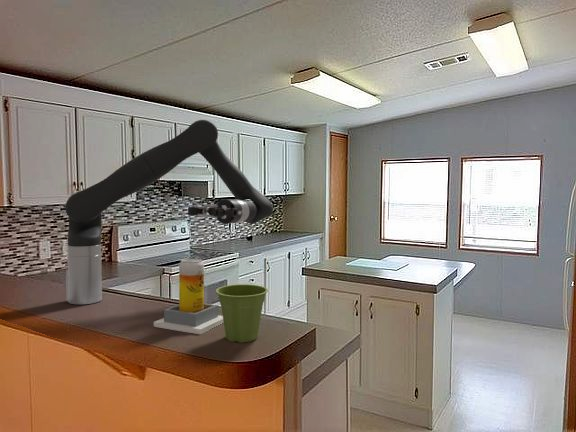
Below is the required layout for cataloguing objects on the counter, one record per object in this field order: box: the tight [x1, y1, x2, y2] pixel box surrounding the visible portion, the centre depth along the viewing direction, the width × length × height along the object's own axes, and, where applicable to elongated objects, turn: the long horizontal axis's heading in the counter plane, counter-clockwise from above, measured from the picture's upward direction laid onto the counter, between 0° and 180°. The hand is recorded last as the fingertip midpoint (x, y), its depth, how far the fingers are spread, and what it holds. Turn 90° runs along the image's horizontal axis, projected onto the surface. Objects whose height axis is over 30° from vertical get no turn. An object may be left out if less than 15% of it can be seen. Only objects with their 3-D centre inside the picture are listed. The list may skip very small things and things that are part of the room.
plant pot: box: [215, 283, 269, 343], centre depth 101 cm, size 12×12×11 cm
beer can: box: [178, 258, 205, 313], centre depth 111 cm, size 6×6×15 cm
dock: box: [153, 302, 224, 335], centre depth 111 cm, size 14×12×4 cm
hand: (201, 212), depth 122 cm, fingers open, 8 cm apart
